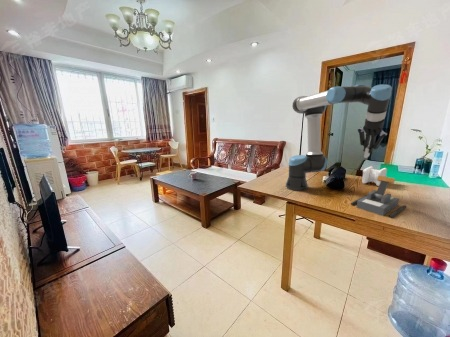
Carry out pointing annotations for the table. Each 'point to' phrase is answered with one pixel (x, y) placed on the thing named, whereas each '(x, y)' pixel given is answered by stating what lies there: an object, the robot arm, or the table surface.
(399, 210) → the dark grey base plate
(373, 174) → the cable organizer
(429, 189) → the table surface
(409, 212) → the table surface
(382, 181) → the lever
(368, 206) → the breaker block
